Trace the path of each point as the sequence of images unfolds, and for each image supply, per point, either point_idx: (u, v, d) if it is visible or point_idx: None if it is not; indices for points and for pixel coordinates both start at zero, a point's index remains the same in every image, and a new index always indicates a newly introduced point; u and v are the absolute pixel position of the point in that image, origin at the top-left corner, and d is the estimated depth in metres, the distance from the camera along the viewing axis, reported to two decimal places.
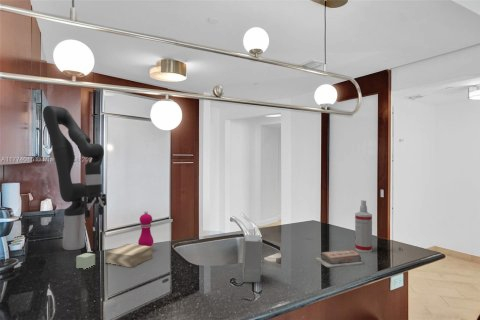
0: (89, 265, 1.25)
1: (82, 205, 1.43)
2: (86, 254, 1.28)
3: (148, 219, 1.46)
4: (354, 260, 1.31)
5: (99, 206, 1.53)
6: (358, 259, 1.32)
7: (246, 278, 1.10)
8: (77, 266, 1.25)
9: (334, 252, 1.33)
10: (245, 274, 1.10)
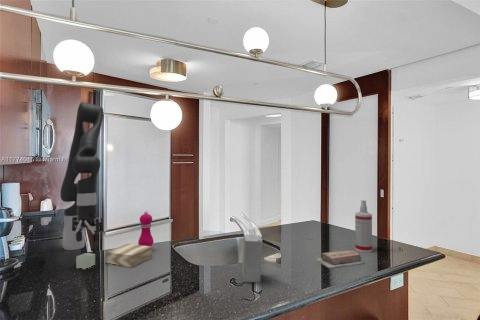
0: (89, 265, 1.25)
1: None
2: (86, 254, 1.28)
3: (148, 219, 1.46)
4: (354, 260, 1.31)
5: (78, 231, 1.28)
6: (358, 259, 1.32)
7: (246, 278, 1.10)
8: (77, 266, 1.25)
9: (334, 252, 1.33)
10: (245, 274, 1.10)
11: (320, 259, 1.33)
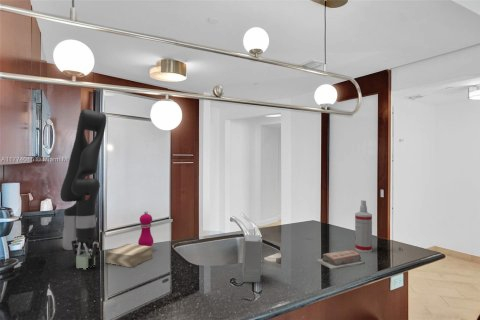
0: None
1: None
2: (86, 254, 1.28)
3: (148, 219, 1.46)
4: (355, 260, 1.31)
5: None
6: (358, 259, 1.32)
7: (246, 278, 1.10)
8: (77, 266, 1.25)
9: (335, 253, 1.32)
10: (245, 274, 1.10)
11: (321, 260, 1.32)
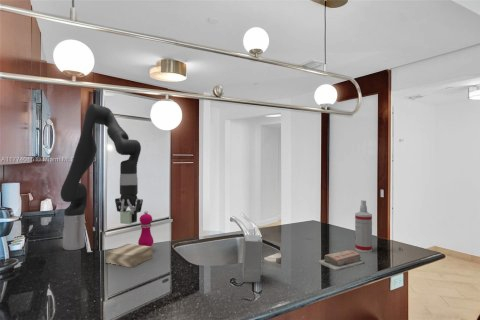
0: None
1: None
2: (129, 211, 1.35)
3: (148, 219, 1.46)
4: (355, 260, 1.31)
5: None
6: (358, 259, 1.32)
7: (246, 278, 1.10)
8: (121, 221, 1.33)
9: (336, 253, 1.31)
10: (245, 274, 1.10)
11: (322, 261, 1.30)
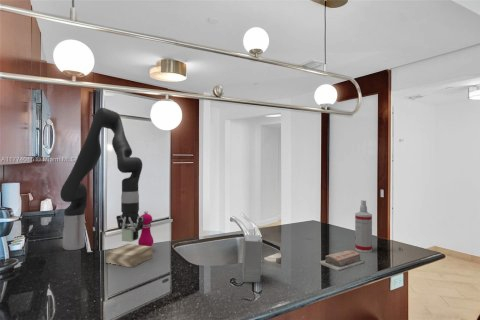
0: None
1: None
2: (130, 228, 1.36)
3: (148, 219, 1.46)
4: (356, 260, 1.31)
5: None
6: (358, 259, 1.32)
7: (246, 278, 1.10)
8: (123, 239, 1.33)
9: (337, 254, 1.31)
10: (245, 274, 1.10)
11: (323, 262, 1.30)
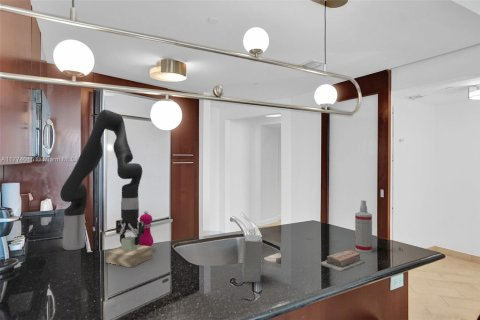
0: (133, 247, 1.34)
1: None
2: (130, 237, 1.36)
3: (148, 219, 1.46)
4: (356, 260, 1.31)
5: (122, 234, 1.36)
6: (358, 259, 1.33)
7: (246, 278, 1.10)
8: (122, 248, 1.33)
9: (338, 254, 1.30)
10: (245, 274, 1.10)
11: (325, 262, 1.29)
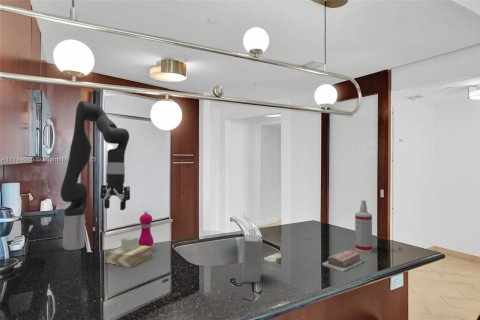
0: (133, 247, 1.34)
1: None
2: (130, 237, 1.36)
3: (148, 219, 1.46)
4: (356, 260, 1.31)
5: (106, 199, 1.34)
6: (358, 258, 1.33)
7: (246, 278, 1.10)
8: (122, 248, 1.33)
9: (339, 254, 1.30)
10: (245, 274, 1.10)
11: (326, 263, 1.28)
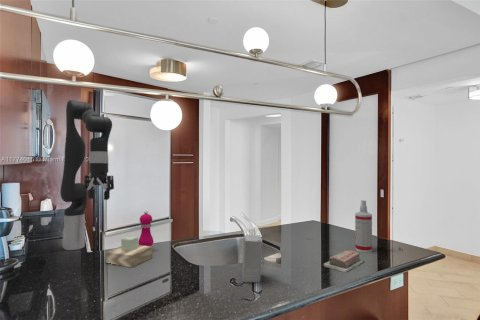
0: (133, 247, 1.34)
1: None
2: (130, 237, 1.36)
3: (148, 219, 1.46)
4: (357, 260, 1.31)
5: (90, 189, 1.32)
6: (358, 258, 1.33)
7: (246, 278, 1.10)
8: (122, 248, 1.33)
9: (340, 255, 1.29)
10: (245, 274, 1.10)
11: (328, 264, 1.27)
